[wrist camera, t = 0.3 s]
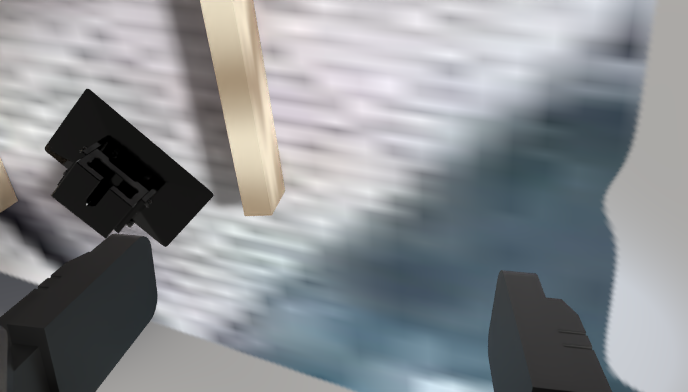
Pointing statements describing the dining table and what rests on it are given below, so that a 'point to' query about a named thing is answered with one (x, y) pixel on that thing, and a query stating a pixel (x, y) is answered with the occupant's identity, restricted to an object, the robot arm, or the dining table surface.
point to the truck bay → (234, 106)
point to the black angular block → (121, 175)
